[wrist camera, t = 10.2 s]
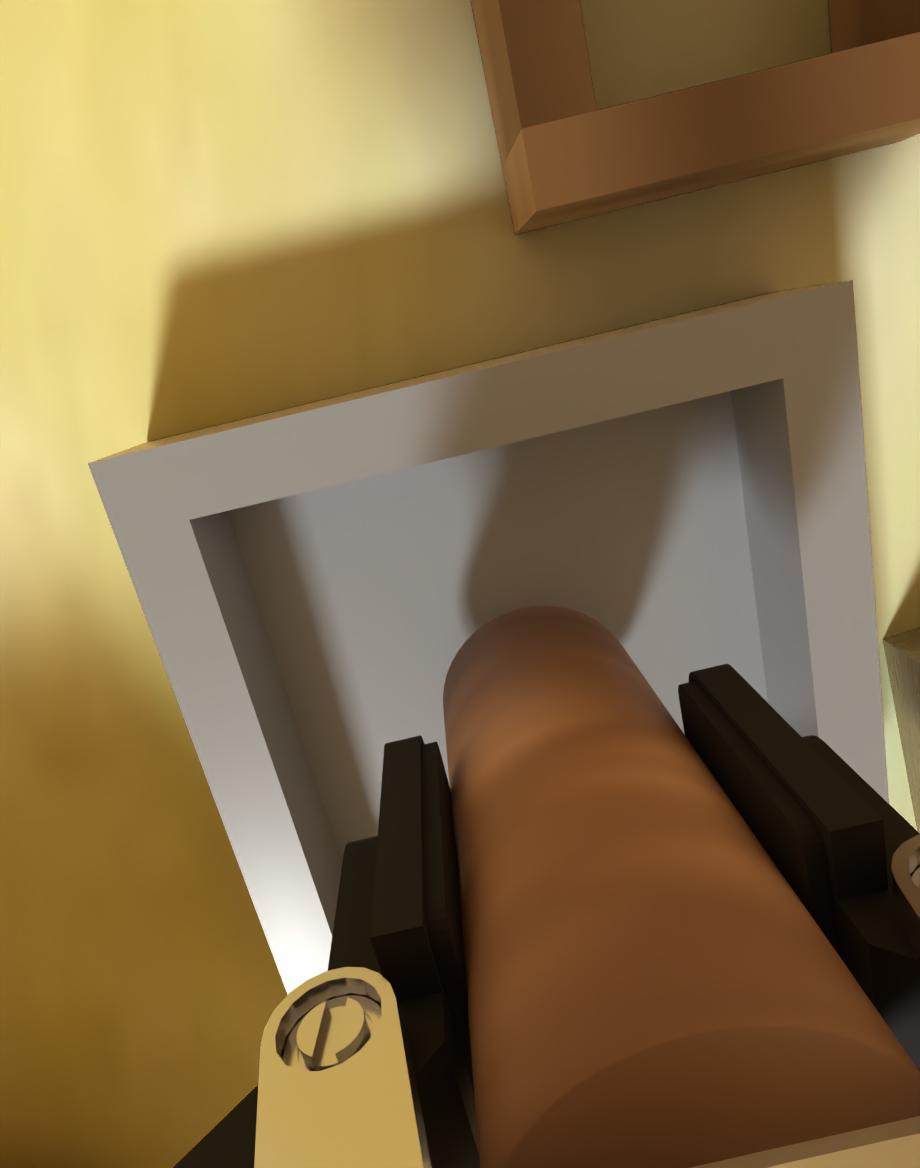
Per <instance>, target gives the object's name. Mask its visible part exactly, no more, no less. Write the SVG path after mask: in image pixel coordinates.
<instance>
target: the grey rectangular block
mask: <svg viewBox="0 0 920 1168" xmlns="http://www.w3.org/2000/svg"><path fill="white" fill-rule="evenodd" d="M883 644H884V649H885V655H886V661H887V666H888V672H889V677H890V683H891V688H892V694H893V699H894V705H895V710H896V716H897V721H898V727H899V732H900V738H901V743H902V749H903V754H904V760H905V765H906V771H907V776H908V782H909V787H910V793H911V798H912V804H913V809H914V815H915V820H916V826H917V831H918V833H919V834H920V627H919V628H916V629H913V630H910V631H907V632H904V633H901V634H898V635H895V636H892V637H889V638H886V639H883Z"/></svg>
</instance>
